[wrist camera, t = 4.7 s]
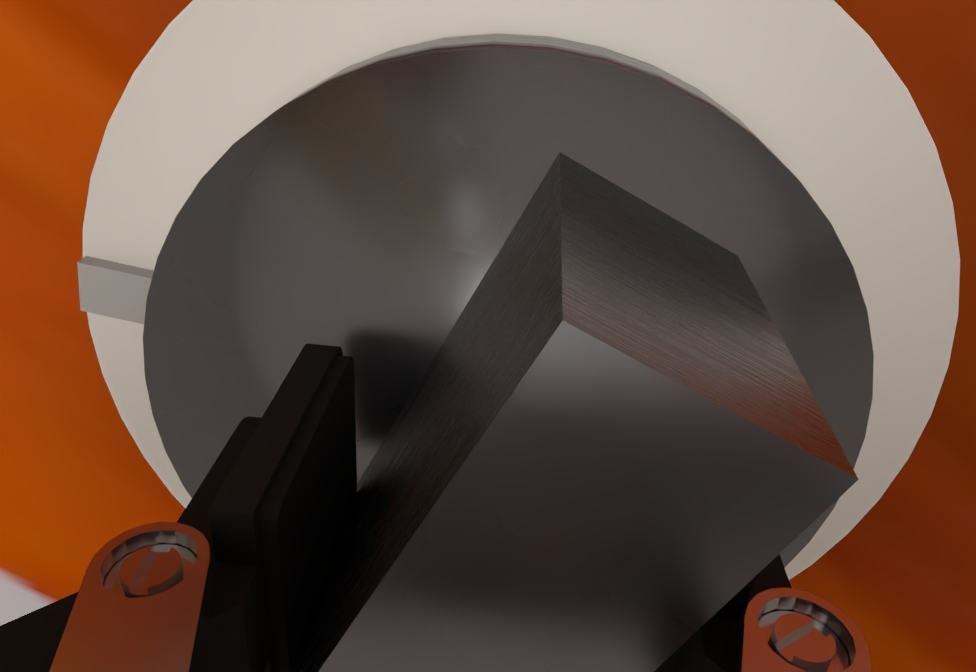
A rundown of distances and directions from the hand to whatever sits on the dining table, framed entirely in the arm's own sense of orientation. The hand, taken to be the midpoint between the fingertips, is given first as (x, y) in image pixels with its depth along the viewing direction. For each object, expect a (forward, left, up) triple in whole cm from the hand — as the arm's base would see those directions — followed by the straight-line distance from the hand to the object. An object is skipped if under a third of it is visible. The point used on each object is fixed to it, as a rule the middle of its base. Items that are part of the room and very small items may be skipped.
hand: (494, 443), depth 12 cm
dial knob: (0, 0, -2) cm, 2 cm away
